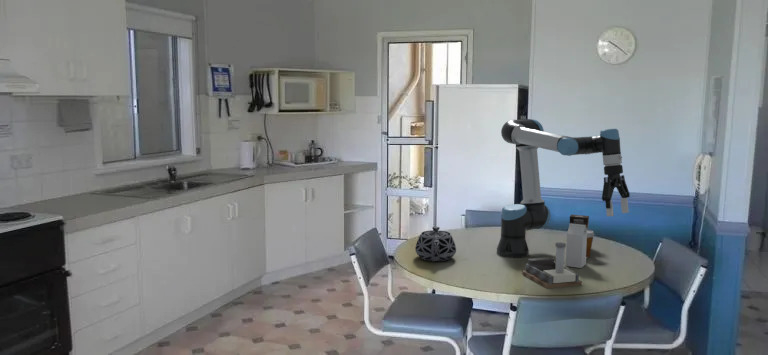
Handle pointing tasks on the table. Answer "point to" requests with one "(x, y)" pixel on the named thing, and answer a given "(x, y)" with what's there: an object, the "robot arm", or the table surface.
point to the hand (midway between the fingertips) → (617, 214)
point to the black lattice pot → (435, 245)
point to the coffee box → (579, 220)
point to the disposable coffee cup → (589, 242)
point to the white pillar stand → (560, 267)
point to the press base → (536, 273)
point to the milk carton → (576, 245)
